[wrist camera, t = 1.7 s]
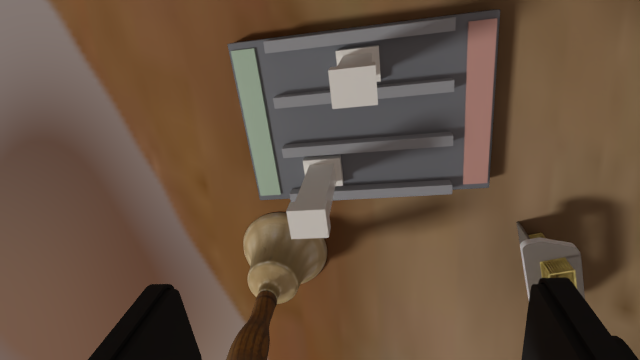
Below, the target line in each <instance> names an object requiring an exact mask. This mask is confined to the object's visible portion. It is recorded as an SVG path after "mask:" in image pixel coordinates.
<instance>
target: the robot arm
mask: <svg viewBox="0 0 640 360" xmlns="http://www.w3.org/2000/svg"><path fill="white" fill-rule="evenodd" d="M88 360H202V359H201V354H200V352H199V349H198V346H197V343H196V340H195V337H194V334H193V331H192V328H191V325H190V323H189V320H188V317H187V314H186V311H185V308H184V305H183V302H182V299H181V296H180V294H179V291H178V290H176V289H174V287H173V286H172V285H170V284H152V285H149V286H147V287H146V289H145V290H144V291H143V292H142V293H141V295H140V296H139V297H138V298H137V300H136V301H135V302H134V304H133V305H132V306H131V307H130V308H129V309H128V311H127V312H126V313H125V314H124V316H123V317H122V318H121V319H120V321H119V322H118V323H117V324H116V326H115V327H114V328H113V329H112V331H111V332H110V333H109V334H108V336H107V337H106V338H105V339H104V340H103V342H102V343H101V344H100V345H99V347H98V348H97V349H96V350H95V352H94V353H93V354H92V355H91V357H90V358H89V359H88ZM522 360H639V359H638V358H637V357H636V356H635V354H634V353H633V352H632V350H631V349H630V348H629V346H628V345H627V344H626V343H625V342H624V341H623V340H622V339H621V338H619V337H617V336H611V335H610V333H609V332H608V331H607V329H606V328H605V326H604V325H603V324H602V322H601V321H600V320H599V318H598V317H597V316H596V314H595V313H594V311H593V310H592V309H591V307H590V306H589V305H588V303H587V302H586V301H585V299H584V298H583V296H582V295H581V294H580V292H579V291H578V290H577V288H576V287H575V285H574V284H573V283H572V281H571V280H570V279H569V278H566V277H563V278H540V280H539V282H538V284H532V286H531V290H530V298H529V305H528V313H527V321H526V329H525V337H524V345H523V353H522Z"/></svg>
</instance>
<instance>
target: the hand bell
mask: <svg viewBox="0 0 640 360" xmlns="http://www.w3.org/2000/svg"><path fill="white" fill-rule="evenodd" d="M243 246H244V253H245V256H246V259H247V261H248V263H249V264H250V270H249V273H248V285H249V288H250V290H251V291H252V293H253V294H254V295H255V296H256V297H257V298H256V302H255V305H254V308H253V311H252V314H251V316H250V319H249V320H248V322H247V323H246V324H245V325H244V327H243V328H242V329H241V330H240V332H239V333H238V335H237V336H236V338H235V340H234V341H233V343H232V345H231V348H230V350H229V353H228V356H227V359H226V360H267V356H268V351H269V341H270V338H269V324H270V320H271V318H272V315H273V312H274V309H275V307H276V305H277V304H280V303H284V302H287V301H289V300H290V299H292V298H293V297H294V295H295V294H296V292H297V290H298V288H299V286H300V284H302V283H305V282H307V281H309V280H311V279H313V278H314V277H315V276H317V275H318V274H319V273H320V271H321V270H322V269H323V267H324V265H325V262H326V259H327V246H326V242H325V240H324V238H310V239H291V235H290V230H289V224H288V219H287V213H285V212H276V213H270V214H266V215H264V216H261V217H260V218H258V219H256V220H255V221H254V222H253V223H252V224H251V225H250V226H249V228H248V229H247V231H246V233H245V236H244V242H243Z"/></svg>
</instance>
